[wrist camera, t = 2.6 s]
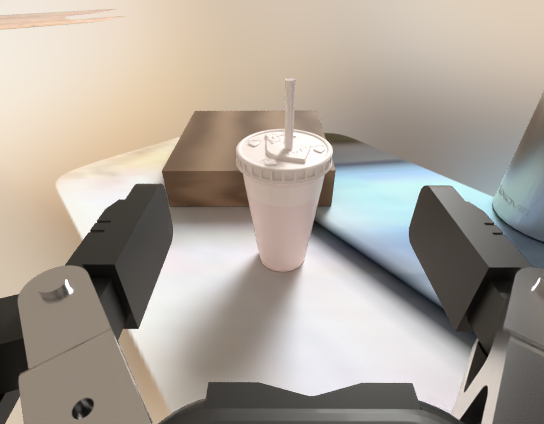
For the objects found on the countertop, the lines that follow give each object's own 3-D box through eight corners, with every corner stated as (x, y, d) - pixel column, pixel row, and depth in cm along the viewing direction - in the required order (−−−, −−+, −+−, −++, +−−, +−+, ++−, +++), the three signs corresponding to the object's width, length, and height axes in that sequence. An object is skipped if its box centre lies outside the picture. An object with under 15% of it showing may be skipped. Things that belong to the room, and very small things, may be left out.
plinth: (314, 139, 46) (317, 110, 44) (331, 206, 33) (335, 170, 31) (199, 139, 46) (194, 111, 44) (169, 206, 33) (161, 171, 31)
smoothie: (266, 297, 24) (262, 102, 16) (230, 245, 28) (212, 72, 20) (337, 265, 26) (366, 82, 18) (294, 222, 31) (301, 60, 23)
